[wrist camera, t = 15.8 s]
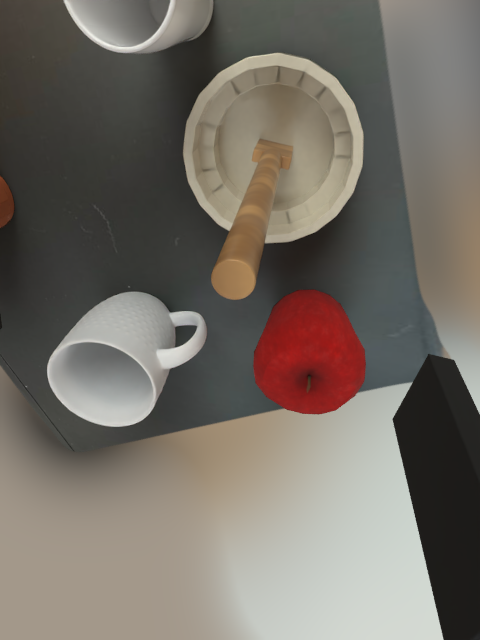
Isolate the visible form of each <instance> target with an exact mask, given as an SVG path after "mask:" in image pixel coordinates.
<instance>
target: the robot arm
mask: <svg viewBox="0 0 480 640" xmlns="http://www.w3.org/2000/svg"><path fill="white" fill-rule="evenodd" d="M1 328H2V323H1V315H0V329H1ZM393 423H394V427H395V431H396V436H397V440H398V445H399V449H400V453H401V457H402V462H403V466H404V470H405V475H406V479H407V483H408V487H409V492H410V496H411V501H412V504H413V509H414V513H415V518H416V522H417V527H418V531H419V535H420V540H421V544H422V548H423V552H424V557H425V560H426V565H427V570H428V574H429V578H430V583H431V587H432V591H433V596H434V600H435V604H436V608H437V612H438V617H439V622H440V625H441V630H442V634H443V639H444V640H480V414H479V412H478V410H477V408H476V406H475V404H474V401H473V399H472V397H471V395H470V393H469V391H468V389H467V386H466V385H465V383H464V380H463V378H462V376H461V374H460V372H459V369H458V367H457V365H456V363H455V361H454V360H452V359H448V358H443V357H439V356H435V355H430V354H428V356H427V358H426V360H425V362H424V363H423V365H422V367H421V369H420V371H419V372H418V374H417V376H416V378H415V380H414V381H413V383H412V385H411V387H410V389H409V390H408V392H407V394H406V396H405V398H404V399H403V401H402V403H401V405H400V407H399V408H398V410H397V412H396V414H395V416H394V418H393Z"/></svg>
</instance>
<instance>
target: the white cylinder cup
mask: <svg viewBox="0 0 480 640" xmlns="http://www.w3.org/2000/svg"><path fill="white" fill-rule="evenodd" d="M64 3H65V5H66V7H67V9H68V11H69V13H70V15H71V17H72V18H73V20H74V22H75V23H76V24H77V26H78V27H79V28H80V29H81V31H82V32H83V33H84V34H85V35H86V36H87V37H88V38H90V39H91V40H92V41H93V42H95V43H96V44H98V45H99V46H101V47H103V48H105V49H108V50H111V51H114V52H119V53H127V54H149V53H155V52H158V51H162V50H165V49H167V48H169V47H172V46H174V45H176V44H179V43H181V42H187V41H191V40H194V39H196V38H197V37H199V36H200V35H201V34H202V33H203V32H204V31H205V30H206V28H207V26H208V25H209V23H210V20H211V17H212V13H213V0H64Z"/></svg>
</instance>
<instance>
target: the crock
mask: <svg viewBox="0 0 480 640" xmlns="http://www.w3.org/2000/svg"><path fill="white" fill-rule="evenodd" d="M13 213H14V200H13V196H12V193H11V191H10V189H9V187H8V185H7V184H6V182H5V181H4V179H3V178H2V177H1V176H0V229H1V228H2V227H4V226H6V225H7V224H8V223H9V222H10V220H11V219H12V216H13Z"/></svg>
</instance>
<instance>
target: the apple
mask: <svg viewBox="0 0 480 640" xmlns="http://www.w3.org/2000/svg"><path fill="white" fill-rule="evenodd" d="M365 366H366V362H365V350H364V348H363V346H362V344H361V342H360V341H359V339H358V337H357V335H356V333H355V332H354V329H353V327H352V325H351V323H350V321H349V319H348V317H347V315H346V313H345V311H344V309H343V308H342V306H341V304H340V303H338V302H337V301H336V300H335V299H334V298H332V297H331V296H330V295H328V294H325V293H322V292H320V291H317V290H297V291H295V292H293V293H291V294H289V295H287V296H284V297H283V298H282V299H281V300H280V301H279V302H278V303H277V304H276V305H275V306H274V307H273V309H272V312H271V314H270V316H269V319H268V321H267V324H266V326H265V329H264V331H263V333H262V336H261V338H260V340H259V342H258V345H257V347H256V349H255V351H254V373H255V381H256V384H257V385H258V387H259V388H260V389H261V390H262V392H263V393H264V394H265V395H266V397H268V398H269V399H271V400H272V401H274V402H276V403H277V404H279V405H280V406H282V407H284V408H285V409H287V410H291V411H295V412H299V413H302V414H323V413H327V412H331V411H335V410H337V409H338V408H339V407H341V406H342V405H343V404H345V403H346V402H347V401H349V400H350V399H351V398H353V397H354V396H355V395H356V393H357V392H358V390H359V389H360V387H361V386H362V384H363V382H364V379H365Z"/></svg>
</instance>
